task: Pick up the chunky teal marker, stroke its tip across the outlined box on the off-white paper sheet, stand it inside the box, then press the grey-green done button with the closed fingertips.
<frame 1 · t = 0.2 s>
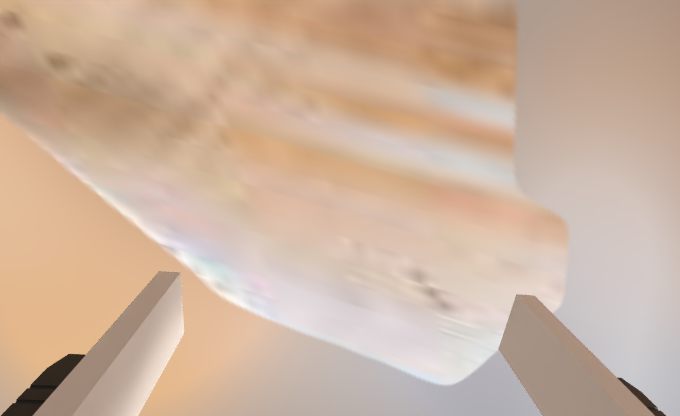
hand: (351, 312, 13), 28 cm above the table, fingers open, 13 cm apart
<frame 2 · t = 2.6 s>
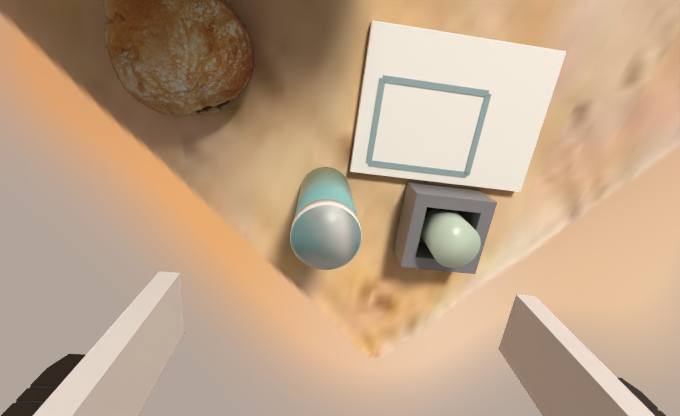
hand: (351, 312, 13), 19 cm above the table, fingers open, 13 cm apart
sheet: (450, 113, 30), on the table
button housing: (435, 220, 33), on the table
bread roll: (188, 48, 27), on the table
marker: (325, 188, 31), on the table
done button: (447, 236, 30), point 4 cm above the table, slide at 0.0 cm
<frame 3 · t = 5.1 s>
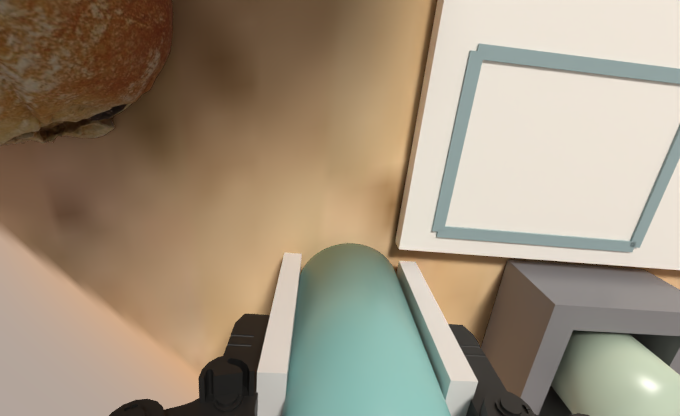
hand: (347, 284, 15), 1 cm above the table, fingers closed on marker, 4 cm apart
sheet: (607, 124, 14), on the table
button housing: (554, 324, 17), on the table
marker: (346, 276, 16), on the table, touching gripper
done button: (609, 382, 14), point 4 cm above the table, slide at 0.0 cm
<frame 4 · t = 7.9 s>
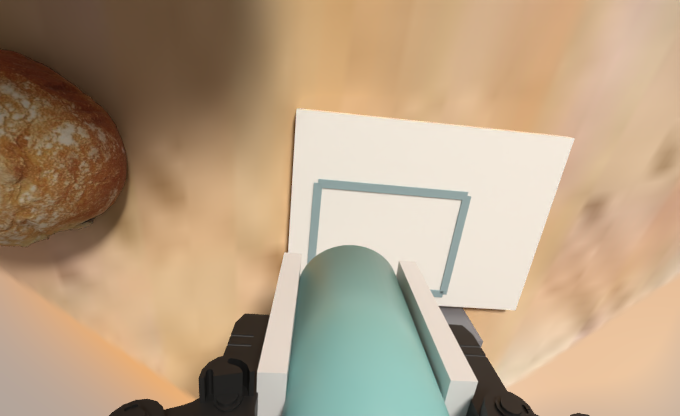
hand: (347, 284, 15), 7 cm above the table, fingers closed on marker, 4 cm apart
sheet: (416, 217, 22), on the table
button housing: (405, 342, 25), on the table
bread roll: (36, 144, 19), on the table
marker: (346, 277, 16), point 6 cm above the table, touching gripper
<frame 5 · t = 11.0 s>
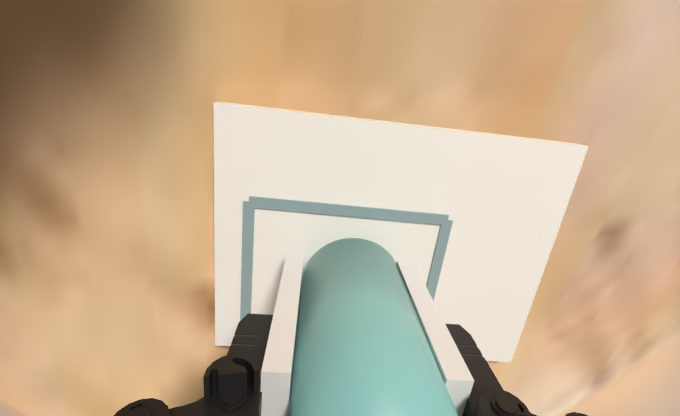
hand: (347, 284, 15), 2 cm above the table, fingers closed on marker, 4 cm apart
sheet: (384, 246, 17), on the table
marker: (349, 270, 16), point 1 cm above the table, touching gripper
when the fingers open (2 cm above the table, at t = 11.8 s): marker stays where it is, resting on sheet.
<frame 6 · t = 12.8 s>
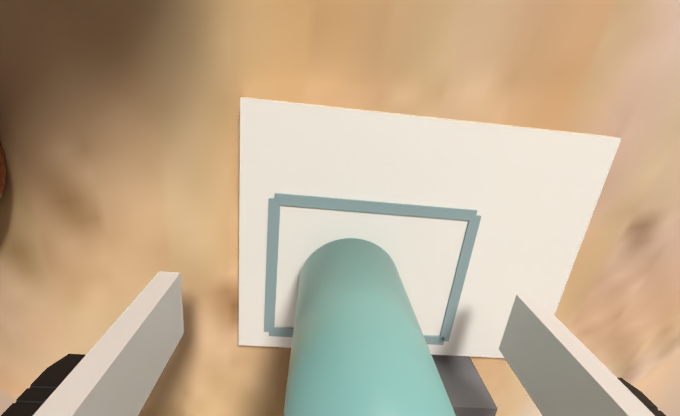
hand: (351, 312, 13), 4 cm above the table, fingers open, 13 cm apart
sheet: (409, 243, 17), on the table
button housing: (396, 397, 20), on the table
marker: (347, 271, 16), point 1 cm above the table, touching sheet
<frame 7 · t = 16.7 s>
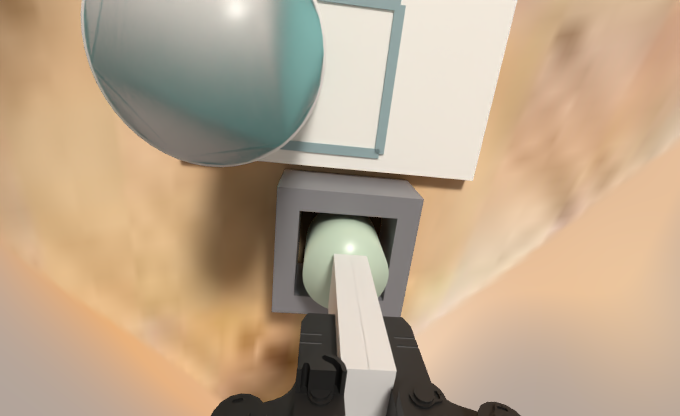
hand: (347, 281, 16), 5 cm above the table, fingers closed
sheet: (341, 47, 17), on the table
button housing: (340, 230, 21), on the table
marker: (279, 68, 17), point 1 cm above the table, touching sheet
done button: (343, 255, 18), point 3 cm above the table, slide at 0.5 cm, touching gripper
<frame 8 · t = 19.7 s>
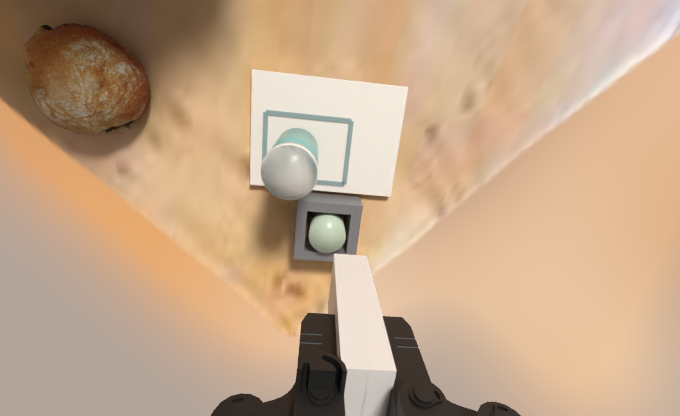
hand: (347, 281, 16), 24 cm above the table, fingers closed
sheet: (326, 136, 37), on the table
button housing: (326, 221, 41), on the table
bread roll: (99, 81, 35), on the table
marker: (297, 147, 37), point 1 cm above the table, touching sheet
done button: (327, 229, 39), point 2 cm above the table, slide at 1.2 cm
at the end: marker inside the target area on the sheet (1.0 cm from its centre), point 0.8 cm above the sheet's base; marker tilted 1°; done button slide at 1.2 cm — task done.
